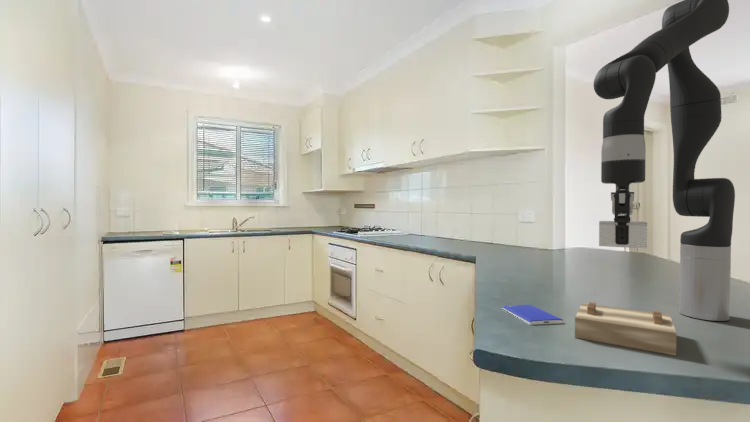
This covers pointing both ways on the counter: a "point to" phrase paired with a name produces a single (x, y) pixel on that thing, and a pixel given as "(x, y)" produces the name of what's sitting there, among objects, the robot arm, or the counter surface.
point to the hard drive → (532, 314)
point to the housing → (635, 234)
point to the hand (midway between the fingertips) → (622, 242)
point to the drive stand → (626, 328)
